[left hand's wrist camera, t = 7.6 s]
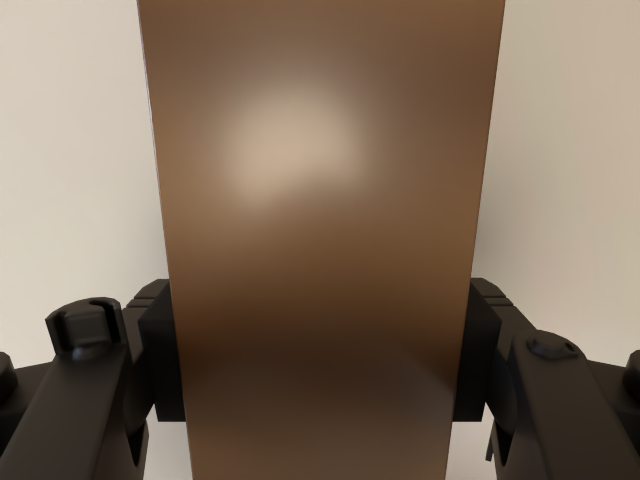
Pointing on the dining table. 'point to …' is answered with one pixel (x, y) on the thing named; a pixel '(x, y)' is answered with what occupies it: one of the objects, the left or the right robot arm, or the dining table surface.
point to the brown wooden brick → (320, 224)
